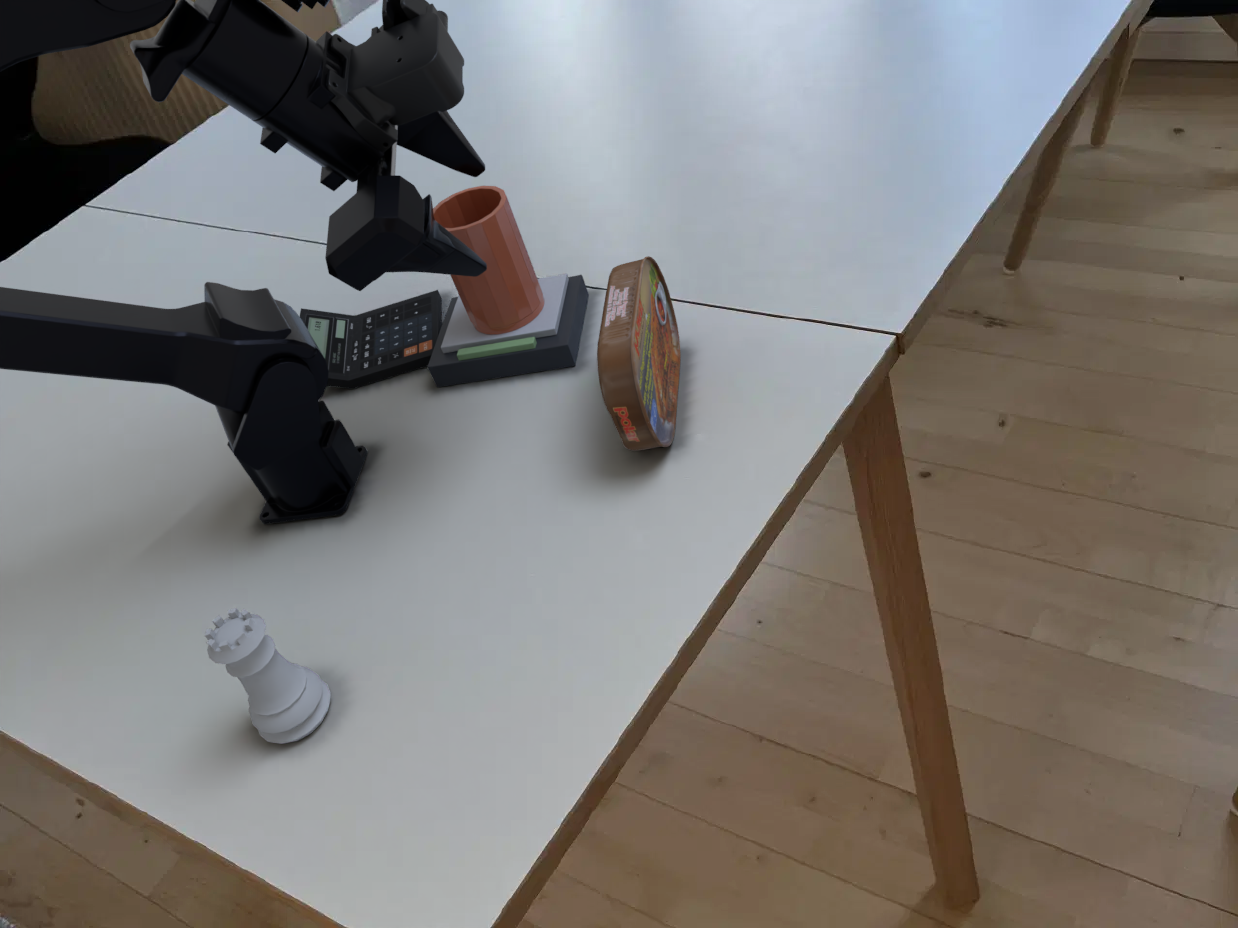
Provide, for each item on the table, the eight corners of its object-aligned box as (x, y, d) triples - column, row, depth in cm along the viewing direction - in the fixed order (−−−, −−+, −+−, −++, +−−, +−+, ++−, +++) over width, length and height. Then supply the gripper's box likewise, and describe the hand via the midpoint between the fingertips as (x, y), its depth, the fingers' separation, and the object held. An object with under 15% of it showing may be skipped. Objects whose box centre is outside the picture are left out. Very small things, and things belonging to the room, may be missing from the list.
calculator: (442, 361, 83) (428, 330, 81) (302, 404, 84) (284, 375, 82) (441, 298, 90) (428, 268, 88) (312, 338, 91) (296, 309, 89)
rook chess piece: (315, 667, 63) (249, 579, 58) (347, 710, 60) (281, 622, 55) (249, 716, 61) (175, 631, 56) (278, 763, 58) (204, 677, 53)
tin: (671, 474, 67) (638, 370, 61) (623, 480, 68) (586, 378, 62) (684, 329, 78) (656, 230, 72) (642, 336, 78) (612, 239, 73)
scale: (436, 387, 81) (423, 361, 79) (460, 317, 87) (448, 291, 85) (575, 366, 78) (565, 338, 76) (589, 295, 84) (579, 267, 83)
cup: (537, 328, 78) (496, 223, 72) (464, 339, 80) (418, 236, 74) (550, 283, 82) (513, 179, 76) (481, 294, 84) (438, 193, 78)
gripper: (358, 101, 51) (579, 261, 62) (375, -111, 61) (563, 57, 72) (227, 223, 57) (449, 351, 67) (263, 11, 67) (451, 150, 77)
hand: (481, 220), depth 71 cm, fingers open, 9 cm apart
